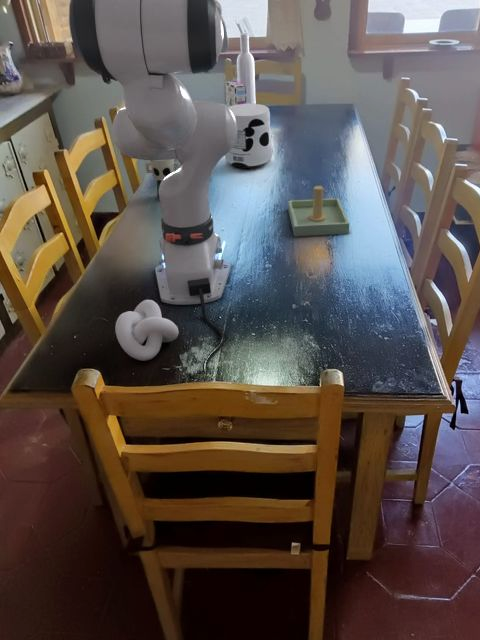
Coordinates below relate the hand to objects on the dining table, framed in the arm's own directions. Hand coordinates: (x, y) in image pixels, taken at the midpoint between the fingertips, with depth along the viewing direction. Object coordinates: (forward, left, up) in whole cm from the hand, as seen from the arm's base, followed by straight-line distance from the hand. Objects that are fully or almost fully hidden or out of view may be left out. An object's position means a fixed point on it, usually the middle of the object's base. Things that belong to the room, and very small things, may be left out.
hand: (187, 73), depth 126 cm
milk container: (+47, -15, -39) cm, 64 cm away
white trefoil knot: (-56, +9, -39) cm, 69 cm away
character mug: (+20, +12, -39) cm, 46 cm away
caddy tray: (-2, -33, -39) cm, 51 cm away
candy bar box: (+92, -12, -39) cm, 101 cm away
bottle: (+118, -17, -39) cm, 126 cm away
